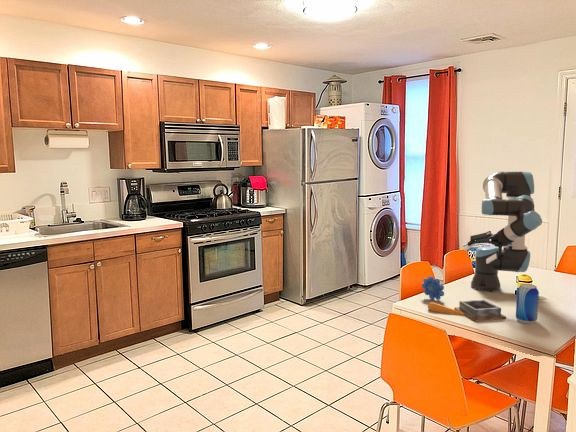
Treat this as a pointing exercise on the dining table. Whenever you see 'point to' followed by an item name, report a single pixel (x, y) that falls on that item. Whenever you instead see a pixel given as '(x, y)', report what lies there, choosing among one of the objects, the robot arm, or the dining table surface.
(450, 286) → the dining table surface
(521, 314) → the beer can
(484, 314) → the holder
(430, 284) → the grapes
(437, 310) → the carrot
